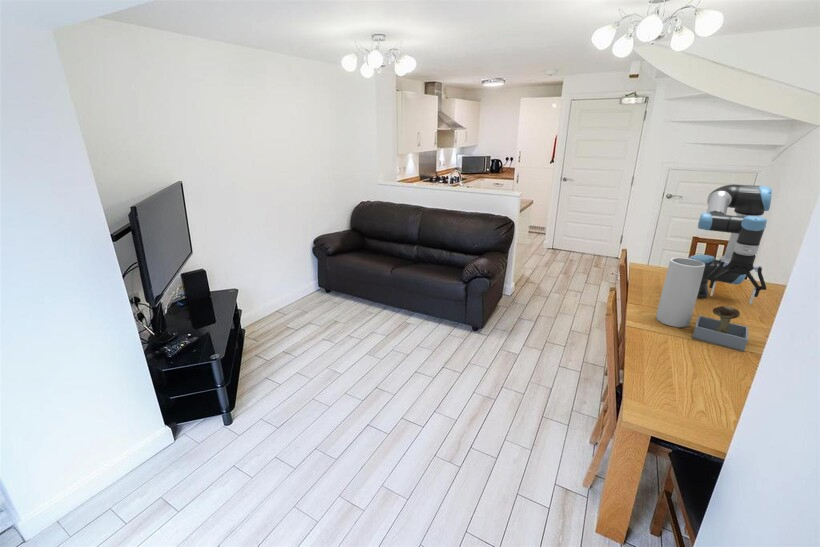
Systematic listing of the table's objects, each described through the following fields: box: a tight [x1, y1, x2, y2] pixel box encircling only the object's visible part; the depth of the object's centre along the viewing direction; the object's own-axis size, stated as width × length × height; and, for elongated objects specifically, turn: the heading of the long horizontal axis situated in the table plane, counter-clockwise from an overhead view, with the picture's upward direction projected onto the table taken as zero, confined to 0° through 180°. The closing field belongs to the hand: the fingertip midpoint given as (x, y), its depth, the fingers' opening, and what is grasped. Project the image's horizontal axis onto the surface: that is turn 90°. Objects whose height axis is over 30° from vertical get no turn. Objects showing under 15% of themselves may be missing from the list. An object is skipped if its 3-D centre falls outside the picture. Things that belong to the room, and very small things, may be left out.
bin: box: [691, 315, 749, 353], centre depth 176 cm, size 15×19×6 cm
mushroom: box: [712, 305, 741, 334], centre depth 174 cm, size 9×9×15 cm
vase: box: [655, 257, 705, 328], centre depth 187 cm, size 14×14×32 cm
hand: (730, 299), depth 170 cm, fingers open, 13 cm apart
